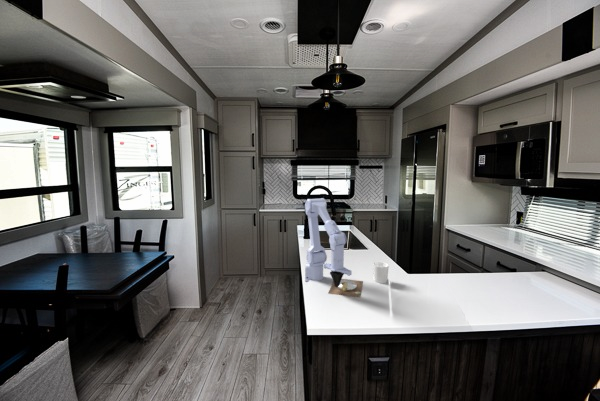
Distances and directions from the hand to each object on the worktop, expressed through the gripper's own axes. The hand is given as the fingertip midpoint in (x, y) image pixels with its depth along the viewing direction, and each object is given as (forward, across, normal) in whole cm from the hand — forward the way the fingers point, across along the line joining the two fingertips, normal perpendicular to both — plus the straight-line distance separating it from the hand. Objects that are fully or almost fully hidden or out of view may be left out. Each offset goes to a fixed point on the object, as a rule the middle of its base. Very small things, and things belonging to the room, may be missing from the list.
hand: (337, 286), depth 131 cm
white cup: (+5, +9, +27) cm, 29 cm away
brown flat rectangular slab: (+4, 0, +8) cm, 9 cm away
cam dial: (+3, +1, +6) cm, 7 cm away
